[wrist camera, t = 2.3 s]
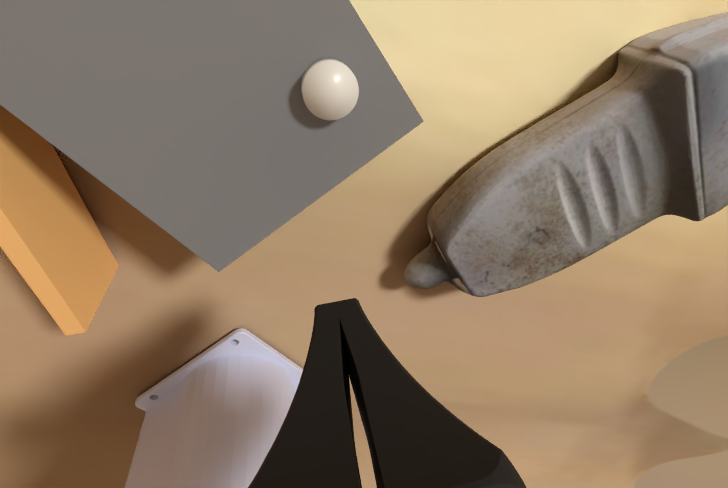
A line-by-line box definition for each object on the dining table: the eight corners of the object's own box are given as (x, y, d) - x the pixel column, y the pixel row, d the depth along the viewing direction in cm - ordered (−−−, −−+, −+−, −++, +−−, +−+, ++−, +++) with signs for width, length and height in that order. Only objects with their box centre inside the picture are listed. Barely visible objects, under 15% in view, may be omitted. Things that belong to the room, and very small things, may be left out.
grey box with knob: (229, 211, 21) (216, 281, 16) (-76, -60, 13) (-253, -71, 9) (390, 86, 19) (428, 126, 14) (137, -313, 11) (48, -494, 7)
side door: (88, 271, 21) (48, 338, 17) (-79, -2, 14) (-208, 10, 10) (119, 266, 21) (86, 331, 17) (-30, -8, 14) (-138, 3, 10)
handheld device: (357, 211, 23) (374, 261, 19) (713, -25, 19) (822, -22, 15) (433, 308, 28) (458, 361, 24) (722, 138, 24) (804, 169, 21)
